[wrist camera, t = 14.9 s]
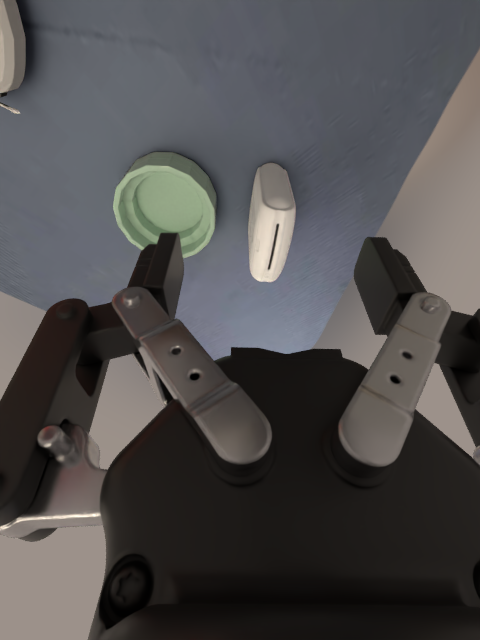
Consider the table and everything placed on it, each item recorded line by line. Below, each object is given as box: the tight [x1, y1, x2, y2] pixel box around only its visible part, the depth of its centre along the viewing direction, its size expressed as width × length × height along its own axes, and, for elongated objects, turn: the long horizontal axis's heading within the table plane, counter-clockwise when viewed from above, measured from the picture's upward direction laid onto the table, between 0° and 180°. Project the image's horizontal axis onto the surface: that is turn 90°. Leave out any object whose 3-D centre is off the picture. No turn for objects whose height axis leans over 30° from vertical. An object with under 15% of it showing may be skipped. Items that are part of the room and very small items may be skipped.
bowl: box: [113, 152, 217, 258], centre depth 40 cm, size 12×12×5 cm
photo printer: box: [248, 163, 296, 282], centre depth 38 cm, size 10×4×12 cm, turn 174°
